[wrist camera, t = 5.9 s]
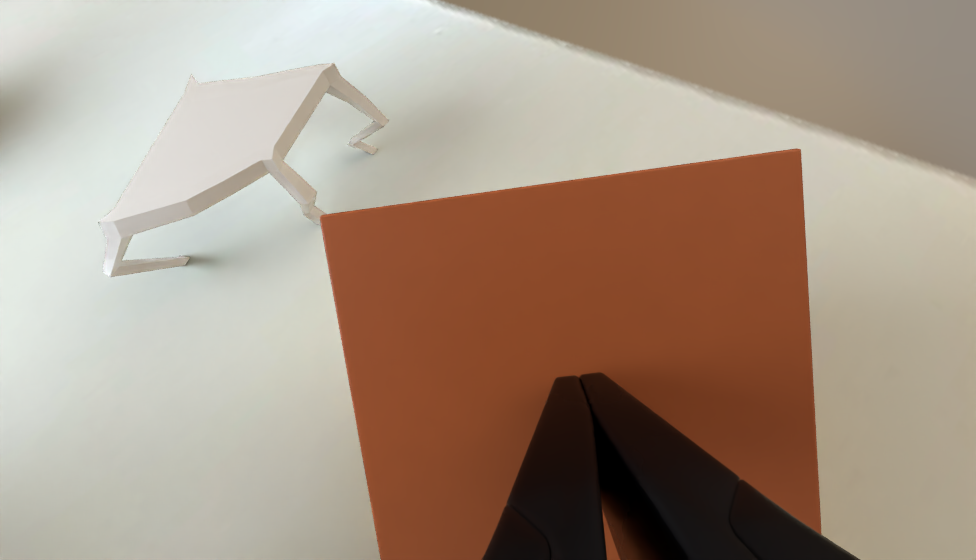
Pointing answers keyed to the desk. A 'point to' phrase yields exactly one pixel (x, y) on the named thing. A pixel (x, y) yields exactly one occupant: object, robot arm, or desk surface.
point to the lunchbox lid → (574, 333)
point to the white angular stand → (225, 153)
